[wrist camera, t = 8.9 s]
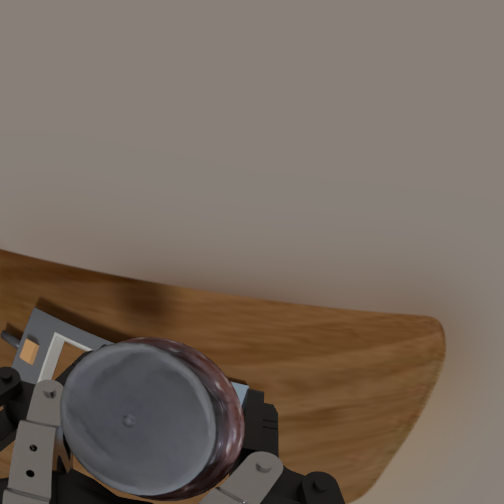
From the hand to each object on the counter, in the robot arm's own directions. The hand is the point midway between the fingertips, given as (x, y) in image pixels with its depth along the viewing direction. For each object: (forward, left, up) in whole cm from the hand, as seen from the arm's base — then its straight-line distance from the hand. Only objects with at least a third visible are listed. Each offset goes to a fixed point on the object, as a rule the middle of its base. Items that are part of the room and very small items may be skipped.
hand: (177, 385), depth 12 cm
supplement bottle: (0, -2, -5) cm, 5 cm away
